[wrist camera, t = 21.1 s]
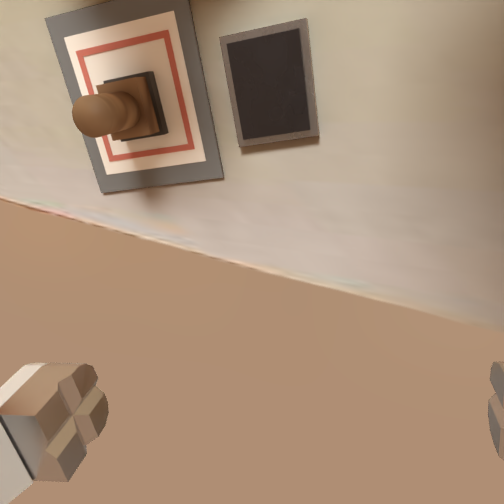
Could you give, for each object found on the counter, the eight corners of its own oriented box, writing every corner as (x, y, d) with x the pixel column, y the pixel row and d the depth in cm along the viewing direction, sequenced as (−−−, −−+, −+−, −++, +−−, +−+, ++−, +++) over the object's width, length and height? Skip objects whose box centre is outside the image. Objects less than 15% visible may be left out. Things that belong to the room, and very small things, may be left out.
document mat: (47, 18, 40) (43, 18, 40) (185, -18, 37) (182, -19, 36) (103, 192, 47) (100, 193, 47) (224, 176, 43) (222, 178, 43)
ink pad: (222, 38, 38) (217, 36, 36) (307, 19, 36) (305, 17, 34) (241, 145, 42) (237, 148, 40) (319, 133, 40) (318, 136, 38)
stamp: (109, 80, 41) (52, 84, 33) (153, 71, 40) (105, 72, 32) (126, 140, 43) (77, 156, 35) (168, 132, 42) (127, 148, 34)
